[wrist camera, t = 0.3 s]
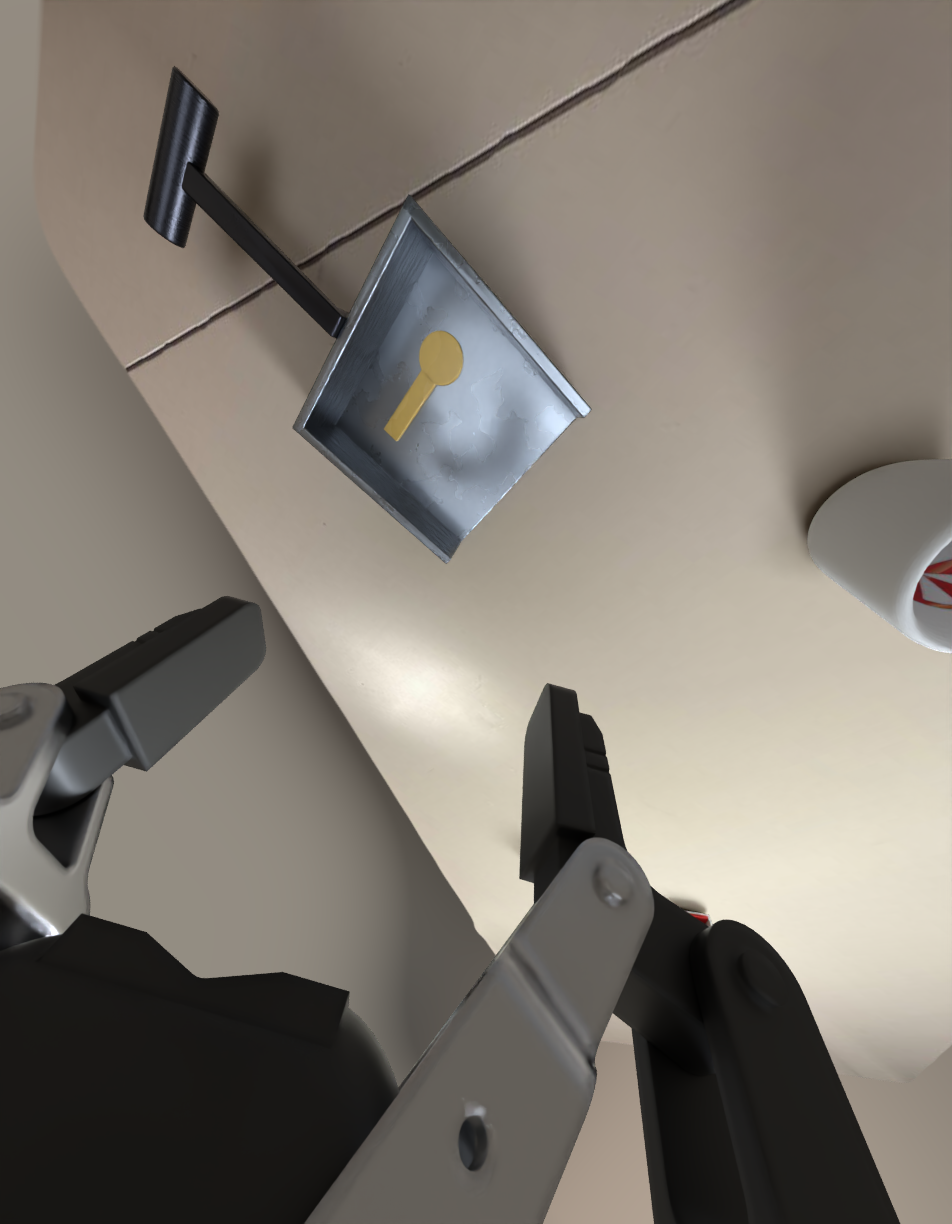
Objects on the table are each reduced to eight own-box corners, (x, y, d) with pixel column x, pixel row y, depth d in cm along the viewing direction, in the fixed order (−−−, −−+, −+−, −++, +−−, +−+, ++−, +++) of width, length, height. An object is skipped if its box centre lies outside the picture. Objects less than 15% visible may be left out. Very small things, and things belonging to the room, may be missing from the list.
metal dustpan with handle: (280, 58, 15) (185, -74, 11) (582, 410, 20) (594, 409, 16) (204, 311, 20) (120, 284, 16) (458, 543, 25) (443, 568, 21)
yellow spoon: (438, 319, 18) (437, 318, 18) (472, 356, 19) (471, 355, 18) (376, 420, 21) (373, 420, 21) (407, 449, 22) (405, 450, 21)
